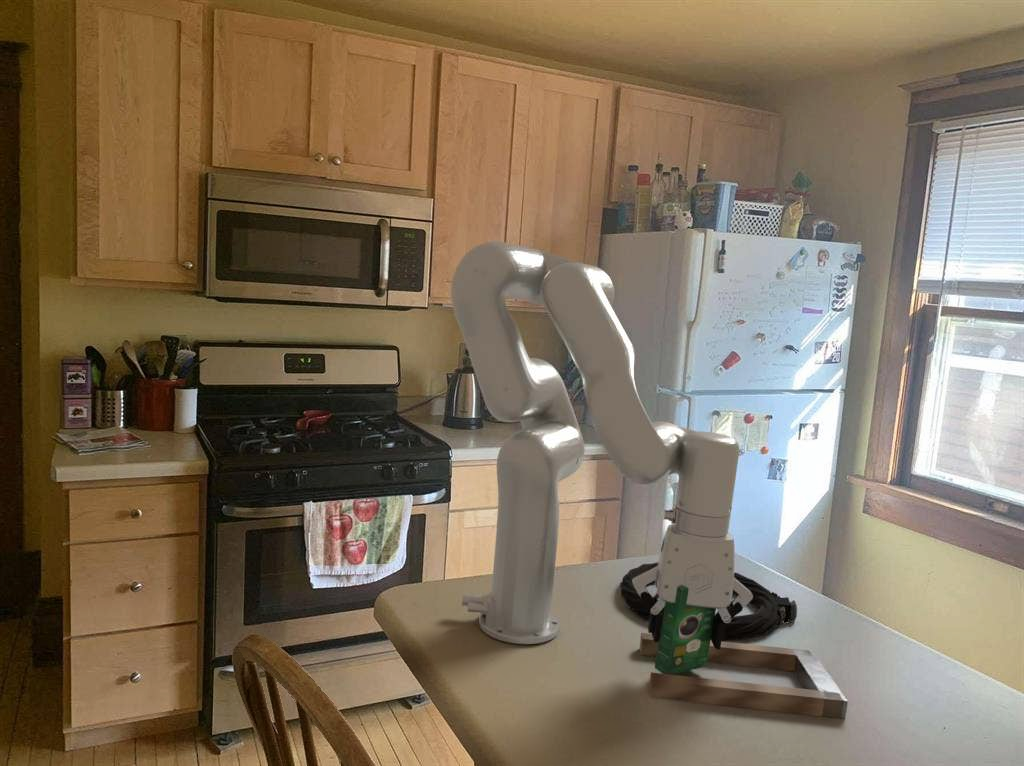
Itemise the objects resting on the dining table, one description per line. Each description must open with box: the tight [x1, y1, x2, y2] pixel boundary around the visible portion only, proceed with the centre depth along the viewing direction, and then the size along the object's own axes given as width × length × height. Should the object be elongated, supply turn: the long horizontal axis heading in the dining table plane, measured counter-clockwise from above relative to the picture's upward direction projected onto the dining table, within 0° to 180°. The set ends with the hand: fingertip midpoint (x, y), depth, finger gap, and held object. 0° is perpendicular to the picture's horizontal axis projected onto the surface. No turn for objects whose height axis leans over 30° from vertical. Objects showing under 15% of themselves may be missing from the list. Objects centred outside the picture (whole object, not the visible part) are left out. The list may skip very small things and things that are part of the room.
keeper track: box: [639, 632, 849, 720], centre depth 108 cm, size 26×14×2 cm, turn 87°
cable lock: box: [619, 561, 798, 640], centre depth 133 cm, size 28×4×30 cm
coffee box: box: [654, 586, 717, 675], centre depth 107 cm, size 8×3×13 cm, turn 123°
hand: (685, 640), depth 108 cm, fingers closed on coffee box, 8 cm apart
